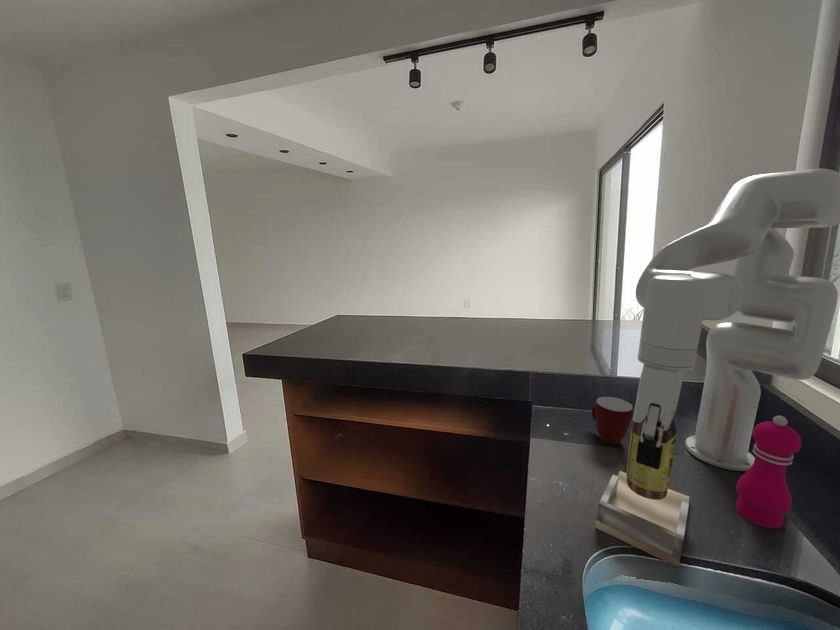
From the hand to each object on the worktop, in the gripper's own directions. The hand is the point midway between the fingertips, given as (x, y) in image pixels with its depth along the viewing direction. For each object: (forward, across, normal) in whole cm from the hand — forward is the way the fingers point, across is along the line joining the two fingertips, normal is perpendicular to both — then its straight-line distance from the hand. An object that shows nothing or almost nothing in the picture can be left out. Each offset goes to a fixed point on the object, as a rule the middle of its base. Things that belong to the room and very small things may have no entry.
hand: (650, 454), depth 60 cm
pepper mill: (+14, -17, +16) cm, 27 cm away
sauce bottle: (+7, 0, 0) cm, 7 cm away
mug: (+14, -27, -12) cm, 33 cm away
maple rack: (+14, -4, 0) cm, 15 cm away
